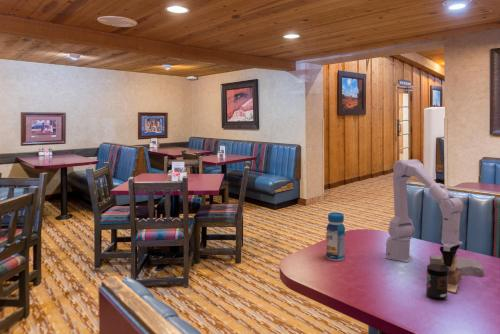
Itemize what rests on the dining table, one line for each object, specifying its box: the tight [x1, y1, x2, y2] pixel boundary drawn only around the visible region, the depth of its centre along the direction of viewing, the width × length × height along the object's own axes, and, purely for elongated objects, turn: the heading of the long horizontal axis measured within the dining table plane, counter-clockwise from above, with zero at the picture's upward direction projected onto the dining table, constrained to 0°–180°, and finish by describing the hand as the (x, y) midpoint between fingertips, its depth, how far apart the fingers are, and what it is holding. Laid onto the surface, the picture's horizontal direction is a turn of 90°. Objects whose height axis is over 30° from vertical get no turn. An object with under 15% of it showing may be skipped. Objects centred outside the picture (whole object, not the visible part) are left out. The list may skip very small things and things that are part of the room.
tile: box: [447, 284, 460, 295], centre depth 139 cm, size 7×7×1 cm
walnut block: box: [448, 270, 462, 285], centre depth 146 cm, size 7×7×4 cm
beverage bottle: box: [325, 212, 346, 262], centre depth 170 cm, size 8×8×20 cm
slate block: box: [428, 254, 442, 265], centre depth 156 cm, size 4×4×5 cm
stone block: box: [455, 257, 485, 277], centre depth 155 cm, size 12×5×10 cm
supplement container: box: [425, 264, 449, 301], centre depth 132 cm, size 7×7×10 cm
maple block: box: [441, 254, 458, 272], centre depth 145 cm, size 4×4×5 cm
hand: (448, 264), depth 145 cm, fingers closed on maple block, 4 cm apart
